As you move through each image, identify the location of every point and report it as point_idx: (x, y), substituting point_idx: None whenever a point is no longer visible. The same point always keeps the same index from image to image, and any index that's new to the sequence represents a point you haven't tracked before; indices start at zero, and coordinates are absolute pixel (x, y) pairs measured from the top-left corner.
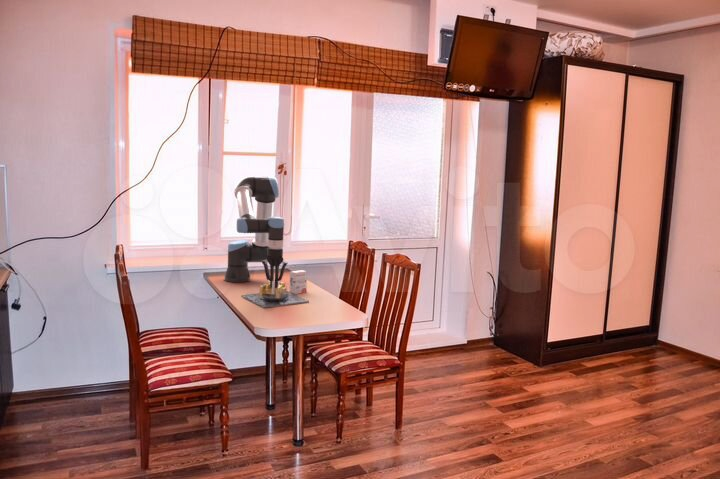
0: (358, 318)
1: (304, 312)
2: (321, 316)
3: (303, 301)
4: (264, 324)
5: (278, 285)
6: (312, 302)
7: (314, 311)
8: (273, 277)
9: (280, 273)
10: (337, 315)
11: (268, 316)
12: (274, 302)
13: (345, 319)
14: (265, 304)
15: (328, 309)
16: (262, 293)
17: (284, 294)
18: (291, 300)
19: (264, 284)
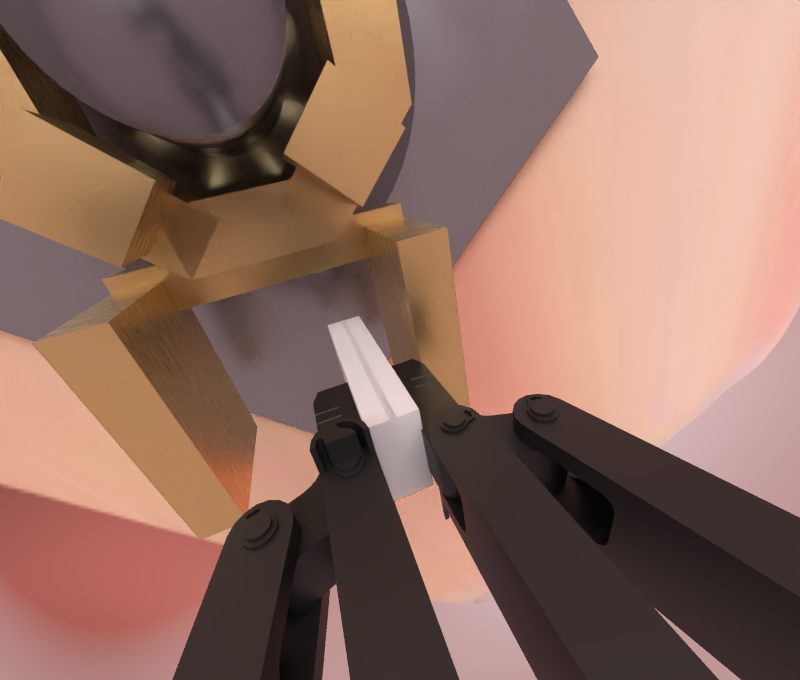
0: (794, 300)
1: (581, 355)
2: (658, 366)
3: (555, 109)
4: (465, 580)
5: (345, 187)
6: (612, 43)
7: (629, 306)
8: (396, 510)
9: (690, 625)
10: (725, 308)
11: (436, 514)
12: (334, 291)
13: (743, 345)
14: (304, 388)
15: (703, 216)
16: (248, 439)
17: (402, 162)
18: (445, 127)
19: (118, 376)
